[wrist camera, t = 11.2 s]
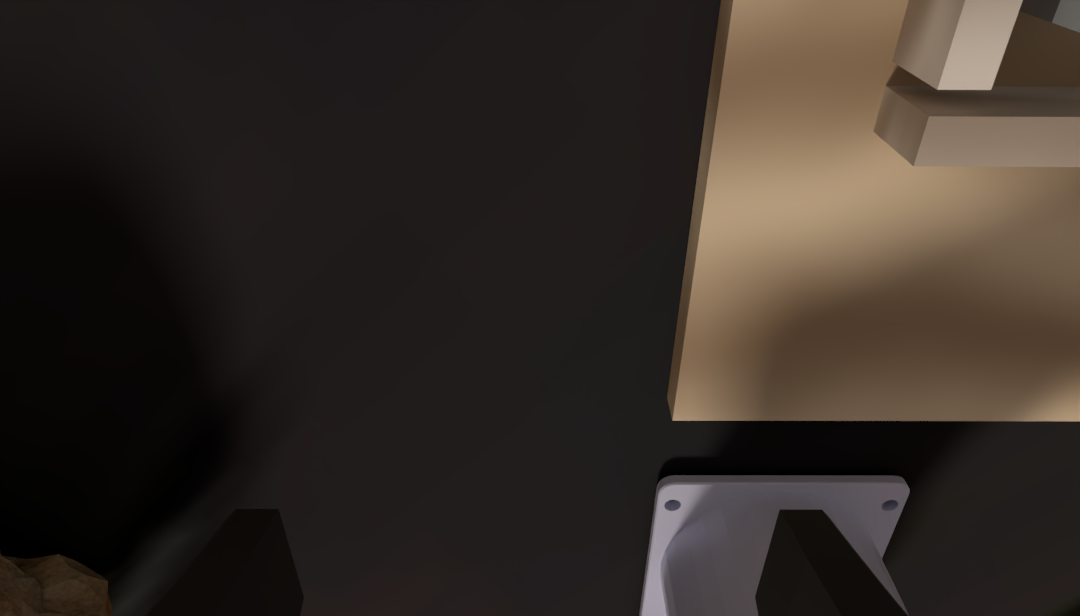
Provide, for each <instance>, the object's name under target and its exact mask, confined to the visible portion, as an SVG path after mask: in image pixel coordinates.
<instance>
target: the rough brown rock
mask: <svg viewBox="0 0 1080 616" xmlns="http://www.w3.org/2000/svg"><path fill="white" fill-rule="evenodd" d="M0 616H112V606H111V603H110V599H109V595H108V581H107V580H106V579H105V578H104V577H102V576H101V575H99V574H98V573H96V572H94V571H93V570H91V569H90V568H88V567H86V566H85V565H83V564H81V563H79V562H77V561H75V560H73V559H70V558H68V557H65V556H63V555H60V554H56V555H50V556H44V557H38V558H32V559H24V558H16V557H10V556H4V555H1V551H0Z"/></svg>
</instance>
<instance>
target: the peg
mask: <svg viewBox="0 0 1080 616" xmlns="http://www.w3.org/2000/svg"><path fill="white" fill-rule="evenodd" d="M1019 11H1020V12H1023V13H1026V14H1029V15H1032V16H1034V17H1037V18H1040V19H1043V20H1046V21H1049V22H1051V23H1054V24H1057V25H1060V26H1063V27H1066V28H1068V29H1071V30H1074V31H1077V32H1080V0H1023V1H1022V4H1021V7H1020V10H1019Z"/></svg>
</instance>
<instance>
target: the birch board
mask: <svg viewBox="0 0 1080 616" xmlns="http://www.w3.org/2000/svg"><path fill="white" fill-rule="evenodd" d="M1022 1H1023V0H721V5H720V12H719V19H718V27H717V34H716V41H715V49H714V56H713V63H712V71H711V78H710V86H709V93H708V100H707V108H706V115H705V122H704V130H703V137H702V144H701V152H700V159H699V166H698V174H697V181H696V189H695V196H694V203H693V211H692V218H691V225H690V233H689V240H688V247H687V255H686V262H685V270H684V277H683V284H682V292H681V299H680V306H679V314H678V321H677V328H676V336H675V343H674V350H673V358H672V365H671V373H670V380H669V387H668V395H667V399H668V404H669V408H670V412H671V416H672V421H1080V32H1077V31H1074V30H1071V29H1068V28H1066V27H1063V26H1060V25H1057V24H1054V23H1051V22H1049V21H1046V20H1043V19H1040V18H1037V17H1034V16H1032V15H1029V14H1026V13H1023V12H1020V11H1019V10H1020V7H1021V4H1022Z"/></svg>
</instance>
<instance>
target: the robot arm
mask: <svg viewBox="0 0 1080 616" xmlns="http://www.w3.org/2000/svg"><path fill="white" fill-rule="evenodd" d="M909 492H910V489H909V487H908V485H907V483H906V482H905V480H904V479H903V478H902V477H900V476H894V475H672V476H667V477H665V478H663V479H662V480H660V481H659V483H658V485H657V489H656V497H655V504H654V511H653V518H652V526H651V533H650V540H649V547H648V555H647V562H646V569H645V576H644V584H643V591H642V598H641V605H640V613H639V616H909V615H908V613H907V610H906V608H905V606H904V604H903V602H902V600H901V598H900V596H899V594H898V592H897V590H896V588H895V585H894V583H893V581H892V579H891V577H890V575H889V573H888V571H887V569H886V567H885V565H884V563H883V561H882V557H883V555H884V553H885V550H886V548H887V545H888V543H889V541H890V538H891V536H892V534H893V531H894V529H895V526H896V524H897V522H898V519H899V517H900V515H901V512H902V510H903V507H904V505H905V503H906V500H907V498H908V496H909ZM669 500H674V501H669ZM303 598H304V596H303V593H302V589H301V586H300V583H299V579H298V576H297V572H296V569H295V565H294V562H293V558H292V555H291V551H290V548H289V544H288V541H287V537H286V534H285V530H284V527H283V524H282V520H281V517H280V513H279V510H278V509H236V510H234V511H233V512H232V513H231V514H230V515H229V516H228V517H227V519H226V520H225V521H224V522H223V523H222V525H221V526H220V527H219V528H218V529H217V531H216V532H215V533H214V534H213V536H212V537H211V538H210V539H209V540H208V542H207V543H206V544H205V545H204V546H203V548H202V549H201V550H200V551H199V553H198V554H197V555H196V556H195V557H194V559H193V560H192V561H191V562H190V563H189V565H188V566H187V567H186V568H185V569H184V571H183V572H182V573H181V574H180V575H179V577H178V578H177V579H176V580H175V581H174V582H173V584H172V585H171V586H170V587H169V588H168V590H167V591H166V592H165V593H164V594H163V595H162V597H161V598H160V599H159V600H158V601H157V602H156V604H155V605H154V606H153V607H152V608H151V609H150V610H149V612H148V613H147V614H146V615H145V616H300V613H301V608H302V603H303Z"/></svg>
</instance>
